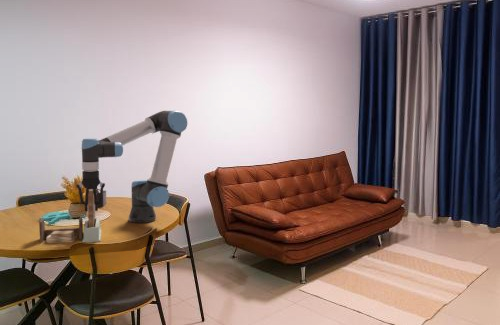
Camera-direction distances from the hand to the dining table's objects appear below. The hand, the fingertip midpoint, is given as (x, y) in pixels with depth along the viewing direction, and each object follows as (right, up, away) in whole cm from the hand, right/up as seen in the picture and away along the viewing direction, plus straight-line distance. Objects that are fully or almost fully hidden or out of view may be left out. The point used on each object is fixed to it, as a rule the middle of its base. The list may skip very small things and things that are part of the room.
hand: (91, 217), depth 197 cm
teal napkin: (-31, -6, +33) cm, 46 cm away
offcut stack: (-12, -10, -7) cm, 17 cm away
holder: (0, -9, +1) cm, 9 cm away
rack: (-13, -10, -3) cm, 16 cm away
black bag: (-23, -2, +65) cm, 69 cm away
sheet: (0, -7, +1) cm, 7 cm away
